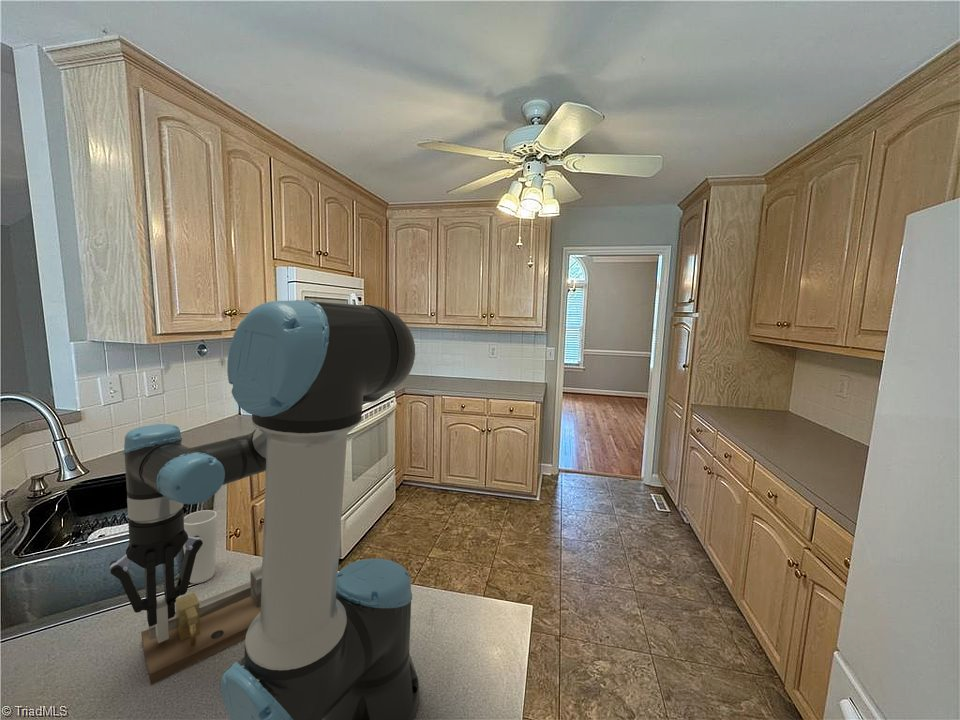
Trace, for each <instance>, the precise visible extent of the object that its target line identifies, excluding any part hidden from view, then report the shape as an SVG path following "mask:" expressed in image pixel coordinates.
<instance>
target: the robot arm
mask: <svg viewBox="0 0 960 720" xmlns="http://www.w3.org/2000/svg"><path fill="white" fill-rule="evenodd" d="M227 354H228V355H227V364H226V366H227V368H226V369H227V370H226V371H227V379H228V383H229V384H230V385H232V388H231V394H232V397H233V399H234V401H235V402H236V403H237V405H238V406H239V407H240V408H241V409H242V410H243V411H245V412H246V413H247V414H250V415H251V423H252V425H253V426H254V427H256V429H254V430H252V432H250V433H248V434H245V435H244V434H243V435H241V436H235V437H232V438H231V437H230V438H227V439H223V440H219V441H218V440H217V441H214V442H210V443H206V444H202V445H197V446H191V447H187V446H185V445H183V444H182V441H183V437H182V434H181V429H180V428H179V426H177V425H174V424H168V423H165V424H162V423H161V424H151V425H150V424H149V425H145V426H144V425H143V426H140V427H135V428H133V429H130V430H129V431H128V432H127V433H126V434H125V436H124V446H123V447H124V449H123V452H122V454H123V455H124V465H125V466H124V467H125V482H126V497H127V498H126V503H127V505H126V506H127V517H128V523H127V524H128V537H129V538H128V547H127V548H126V550H125V554H124V555H123V556H122V557H121V558H119V559H118V560H113V561H111V562H110V563H109V571H110V574H111V575H112V576H114V577H115V578H117V579H118V580H119V581H120V583H121V585H122V588H123V590H124V592H125V594H126V596H127V598H128V601H129V603H130V605H131V607H132V610H133V611H134V613H137V614H138V613H141V612H142V611H146V618H147V619H146V620H147V621H146V622H147V623H148V627H149V626H150V627H151V626H153V625H156V636H157V640H158V643H160V642H163V641H165V640H167V639H169V631H168V619H170V618H172V617H174V616H175V612H176V603H175V602H176V599H178V598H180V597H181V596H183V595H184V596H185V595H186V594H187V592H188V589H189V585H190V583H189V581H190V577H191V573H192V569H193V565H194V561H195V557H196V554H197V552H198V550H199V549H200V547H201V546H202V544H203V542H202V540H201V538H200V537H199V536H194V537H191V536H188V535H187V533H186V531H185V530H184V517H185V514H184V509H183V507H184V505H198V504H201V503H204V502H206V501H208V500H209V499H210V498H212V497H213V496H214V495H215V494H217V493H218V491H219V490H221V488H222V486H225V485H227V484H228V485H229V484H231V483H233V482H237V481H239V480H242V479H244V478H249V477H251V476H255V475H258V474H261V473H264V472H265V479H264V480H265V483H264V484H265V486H264V510H263V511H264V512H263V533H262V534H263V537H262V562H261V563H262V588H261V612H260V613H259V614H258V615H257V616H256V617H255V618H254V620H253V621H252V623H251V624H250V626H249V628H248V631H247V633H246V638H245V639H244V640H245V641H244V657H243V658H242V659H240V660H239V661H235V662H234V663H232V664H231V667H230V668H228V669H227V670H226V671H225V672H224V674H222V678H221V681H220V692H221V698H222V701H223V705H224V708H225V711H226V713H227V715H228V719H230V720H414V718H415V716H416V714H417V711H418V707H419V702H420V701H419V700H420V698H419V697H420V685H419V684H420V682H419V677H418V674H417V672H416V668H415V665H414V663H413V659H412V656H411V654H410V649H411V648H410V647H411V646H410V644H411V641H410V640H411V618H412V615H411V614H412V600H413V593H412V585H411V584H412V580H411V577H410V574H409V572H408V570H407V569H406V568H405V567H404V566H403V565H401V564H400V563H398V562H395V561H393V560H389V559H385V558H373V557H372V558H363V559H359V560H356V561H353V562H350V563H348V564H346V565H345V566H343V567H342V568H341V569H340V570H339V558H340V544H341V529H342V517H343V516H342V515H343V513H342V512H343V500H344V489H345V487H344V486H345V485H344V484H345V473H346V471H345V468H346V457H347V456H346V454H347V442H348V434H349V433H351V431H353V429H355V428H356V427H358V426H359V425H360V424H361V422H362V415H363V406H364V405H363V404H364V403H365V404H367V403H374V402H376V401H378V400H380V399H381V398H383V397H385V395H386V394H388V393H390V392H391V391H393V390H394V389H395V388H397V387H399V386H400V385H401V384H402V383H403V382H404V381H405V380H406V379H407V377H408V376H409V374H410V373H411V371H412V368H413V366H414V364H415V359H416V344H415V340H414V336H413V334H412V332H411V330H410V328H409V326H408V325H407V324H406V323H405V321H404V320H402V318H401V317H400V316H399V315H397V314H396V313H394V312H392V311H391V310H389V309H387V308H384V307H383V306H382V307H381V306H377V305H373V304H372V305H371V304H369V305H368V304H352V303H351V304H350V303H349V304H348V303H337V302H323V301H313V300H312V301H311V300H308V299H302V300H301V299H295V300H272V301H271V300H270V301H265V302H264V303H261V304H258V305H257V306H255V307H253V308H252V309H251V310H249V312H247V314H246V316H245V317H244V318H243V319H241V321H240V322H239V324H238V325H237V327H236V329H235V331H234V333H233V336H232V337H231V341H230V345H229V347H228V353H227ZM185 543H186V544H185ZM184 544H185V547H186V551H185V555H184V556H183V559H182V563H181V567H180V571H179V574H178V578H177V583H176V586H175V568H174V567H175V558H176V557H177V556H178V555H179V552H181V550H182V548H183V546H184ZM130 561H131V562H133V563H134V564H136V565H137V566H139V567H140V568H143V569H144V584H145V585H144V586H145V589H144V590H145V598H143V599H142V597H141V596H140V593H139V591H138V589H137V587H136V584H135V582H134V579H133V577H132V575H131V572H130V571H129V569H130V568H131V565H130ZM159 565H162V571H163V573H162V575H163V591H164V593H163V594H164V597H163V598H160V599H157V598H158V597H157V581H156V579H157V577H156V572H157V570H156V567H157V566H159Z"/></svg>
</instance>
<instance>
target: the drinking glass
mask: <svg viewBox="0 0 960 720" xmlns="http://www.w3.org/2000/svg"><path fill="white" fill-rule="evenodd" d="M217 514H218V513H217V511H215V510H212V509H205V510H204V509H203V510H198V511H194V512H191V513H189V514H187V515H184V530H185V531H186V533H187V535H188V536H191V537H194V536H199V537H200V538H201V540H202V542H203V544H202V546H201V547H200V549H199V550H198V552H197V554H196V557H195V561H194V565H193V569H192V573H191V577H190V581H189V582H190V583H189V584H193V585H194V584H195V585H197V584H202V583H204V582H207V581H209V580H210V579H211V578H213V577H214V576H215V573H216V556H217V555H216V554H217V541H218V515H217ZM185 544H186V543H185ZM185 544H184V546H183V547H182V548H183V554H184V555H185V551H186V547H185Z"/></svg>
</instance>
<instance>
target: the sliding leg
mask: <svg viewBox="0 0 960 720" xmlns="http://www.w3.org/2000/svg"><path fill="white" fill-rule="evenodd" d="M199 602H200V601H199V599H198V597H197V594H196V592H192V593H189V594H185V595H184V596H180V597H177V598H176V602H175V612H176V628H177V632H178V635H179V638H180V641H183V640H185V639H187V638H189V637H190V645H191V646H193V645H195V644H196V634H198V633H200V609H199Z"/></svg>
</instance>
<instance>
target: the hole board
mask: <svg viewBox="0 0 960 720" xmlns="http://www.w3.org/2000/svg"><path fill="white" fill-rule="evenodd" d="M249 572H250V574H249V575H250V581H248V582H246V583H244V584H241V585H237V586H236V587H233V588H231V589H229V590H228V589H227V590H226V591H223V592H221V593H218V594H216V595H214V596H211V597H209V598H206V599H204V600H201V601H199V609H200V633H198V634H196V644H195V645H193V646H191V645H190V637H189V638H187V639H185V640H183V641H180V638H179V635H178V632H177V628H176V611H175V616H174V617H172V618H170V619H168V631H169V639H167V640H165V641H163V642H160V643H158V640H157V636H156V625H153V626H151V627H150V626H149V625H148V628H147V629H146V630H143V631H141V632H140V633H141V645H142V650H143V654H144V659H145V664H146V668H147V674H148V678H149V685H150V686H151V685H154V684H155V683H158V682H160V681H162V680H164V679H166V678H168V677H170V676H172V675H174V674H177V673H178V672H180V671H182V670H184V669H186V668H188V667H191V666H192V665H195V664H197V663H199V662H201V661H202V660H205V659H206V658H208V657H210V656H212V655H213V656H214V655H215V654H217V653H219V652H221V651H223V650H225V649H227V648H228V647H231V646H233V645H235V644H237V643H239V642H241V641H243V640H245V639H246V633H247V631H248V628H249V626H250V624H251V623H252V621H253V620H254V618H255V617H256V616H257V615H258V614H259V613H260V612H261V588H262V566H259V567H256V568H254V569H251V570H250V571H249Z"/></svg>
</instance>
